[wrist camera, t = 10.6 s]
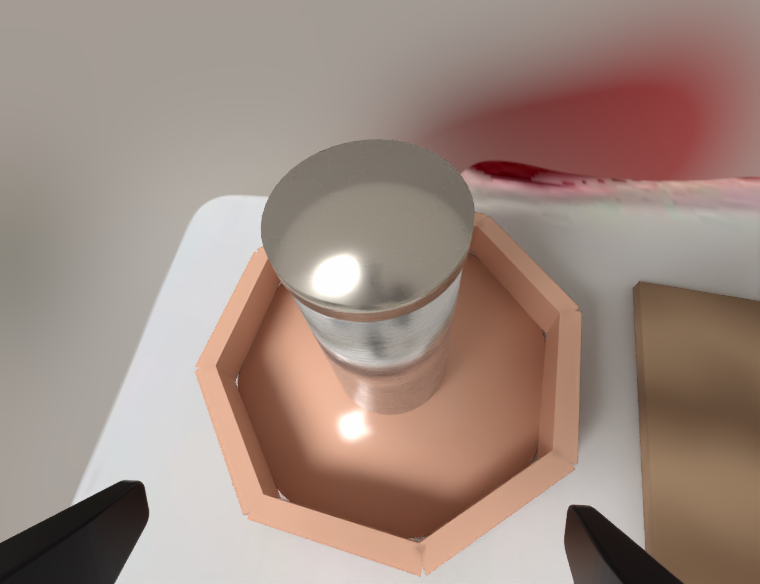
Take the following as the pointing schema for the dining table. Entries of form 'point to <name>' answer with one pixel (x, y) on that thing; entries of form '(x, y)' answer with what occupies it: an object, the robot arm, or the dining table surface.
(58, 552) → the robot arm
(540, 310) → the terracotta bowl
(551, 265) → the dining table surface
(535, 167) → the dining table surface
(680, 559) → the walnut board
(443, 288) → the polished metal canister
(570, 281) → the dining table surface
